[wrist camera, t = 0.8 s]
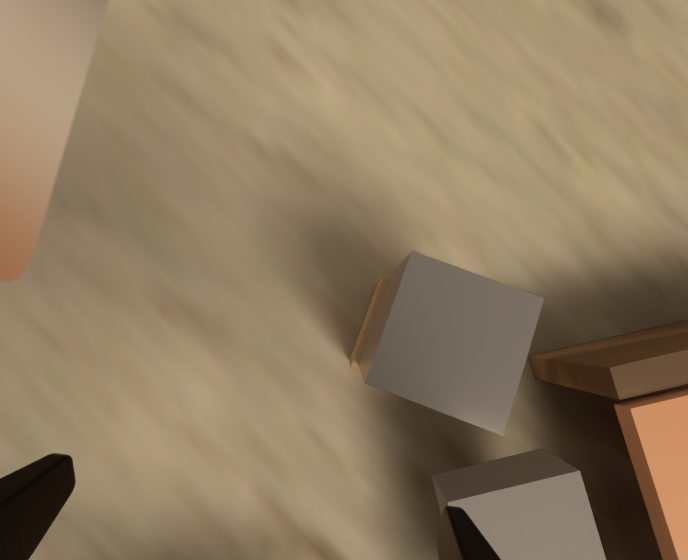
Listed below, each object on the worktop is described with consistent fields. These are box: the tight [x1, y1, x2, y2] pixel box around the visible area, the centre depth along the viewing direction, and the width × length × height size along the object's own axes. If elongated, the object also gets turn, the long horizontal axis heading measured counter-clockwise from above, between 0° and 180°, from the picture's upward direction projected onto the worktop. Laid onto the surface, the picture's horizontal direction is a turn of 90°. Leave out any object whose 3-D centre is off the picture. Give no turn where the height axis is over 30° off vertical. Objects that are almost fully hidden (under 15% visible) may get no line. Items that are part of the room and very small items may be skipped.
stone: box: [358, 251, 544, 436], centre depth 16 cm, size 5×5×7 cm
